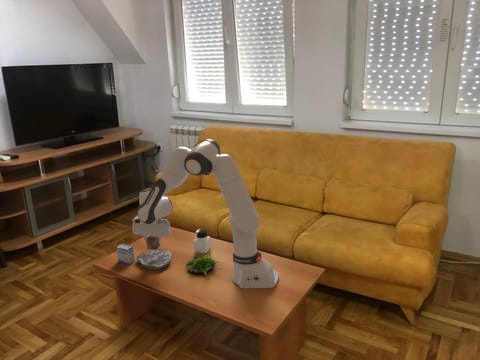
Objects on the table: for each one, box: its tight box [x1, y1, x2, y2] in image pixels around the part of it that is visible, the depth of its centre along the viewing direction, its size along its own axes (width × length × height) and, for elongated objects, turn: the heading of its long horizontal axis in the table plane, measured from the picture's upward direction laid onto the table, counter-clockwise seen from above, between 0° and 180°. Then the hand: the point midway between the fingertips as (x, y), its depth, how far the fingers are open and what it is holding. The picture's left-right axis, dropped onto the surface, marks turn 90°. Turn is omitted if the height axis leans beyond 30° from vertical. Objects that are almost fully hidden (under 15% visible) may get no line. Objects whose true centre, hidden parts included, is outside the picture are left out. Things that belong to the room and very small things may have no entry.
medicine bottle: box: [193, 228, 212, 254], centre depth 228 cm, size 7×7×12 cm
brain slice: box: [135, 248, 173, 271], centre depth 220 cm, size 20×17×3 cm
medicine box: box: [116, 243, 135, 265], centre depth 221 cm, size 8×4×9 cm, turn 62°
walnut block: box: [145, 236, 161, 251], centre depth 216 cm, size 5×5×6 cm
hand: (153, 242), depth 217 cm, fingers closed on walnut block, 5 cm apart
